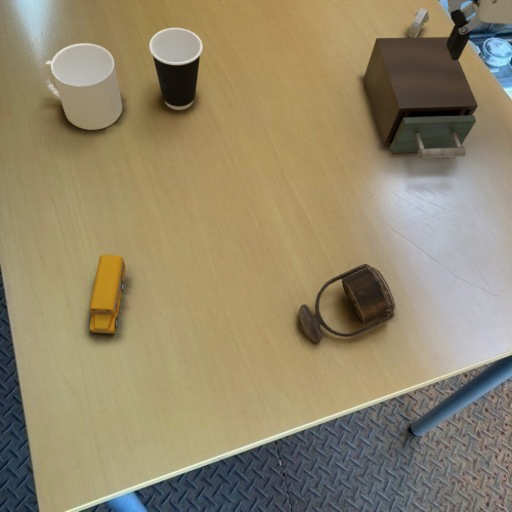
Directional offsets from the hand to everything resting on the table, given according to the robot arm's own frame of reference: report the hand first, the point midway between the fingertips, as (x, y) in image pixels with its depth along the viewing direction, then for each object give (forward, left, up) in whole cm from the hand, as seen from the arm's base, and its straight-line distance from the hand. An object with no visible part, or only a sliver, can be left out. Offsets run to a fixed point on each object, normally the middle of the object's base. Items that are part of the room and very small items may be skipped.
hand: (486, 53), depth 73 cm
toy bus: (+52, +23, -20) cm, 60 cm away
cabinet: (+2, -9, -20) cm, 22 cm away
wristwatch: (-4, -28, -20) cm, 35 cm away
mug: (+56, -12, -20) cm, 61 cm away
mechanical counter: (+21, +27, -20) cm, 39 cm away
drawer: (+2, -4, -19) cm, 19 cm away
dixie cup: (+41, -13, -20) cm, 47 cm away
